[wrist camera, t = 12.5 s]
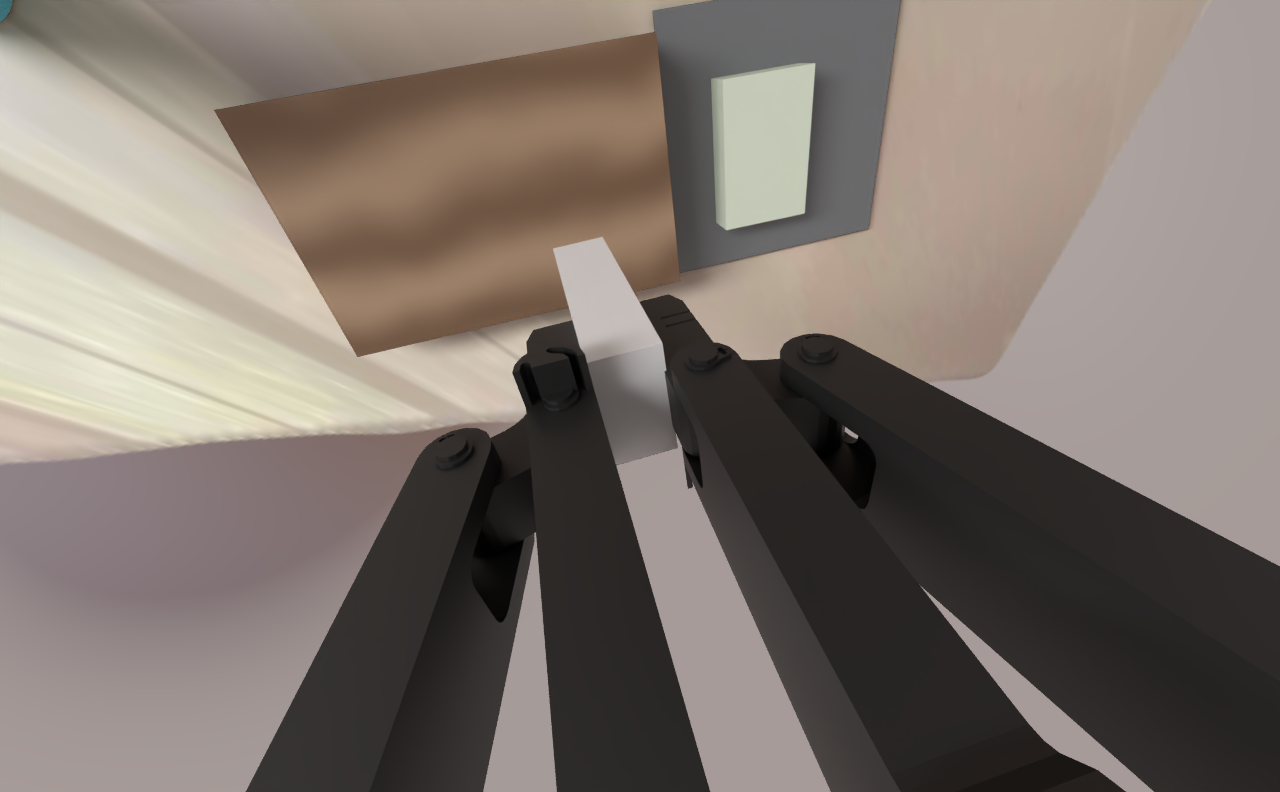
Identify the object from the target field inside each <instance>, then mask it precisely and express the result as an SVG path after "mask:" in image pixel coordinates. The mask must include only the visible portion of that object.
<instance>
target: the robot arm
mask: <svg viewBox="0 0 1280 792" xmlns="http://www.w3.org/2000/svg"><path fill="white" fill-rule="evenodd" d="M553 251H554V254H555V258H556V262H557V266H558V269H559V273H560V277H561V280H562V284H563V288H564V291H565V295H566V299H567V302H568V306H569V310H570V314H571V317H572V321H568V322H564V323H560V324H556V325H552V326H548V327H544V328H540V329H536V330H533V332H532V334H531V335H530V337H529V339H528V340H527V342H526V343H527V354H526V355H524V356H523V357H521V359H520V360H519V361H518V362H517V363H516V364H515V366H514V369H513V372H512V373H513V376H514V378H515V381H516V383H517V386H518V389H519V391H520V394H521V396H522V399H523V402H524V404H525V407H526V413H527V414H526V415H525V416H524V417H523V419H521V420H520V421H519V422H518V423H517V424H515V425H514V426H512V427H511V428H509V429H507V430H506V431H504V432H502V433H500V434H498V435H496V436H494V437H492V438H490V437H489V435H488V434H487V432H485V431H483V430H480V429H478V428H464V429H459V430H455V431H451V432H449V433H447V434H445V435H442V436H441V437H439V438H437V439H436V440H434V441H433V442H432V443H430V444H429V445H428V446H427V447H426V448H425V449H424V450H423V452H422V453H421V454H420V455H419V457H418V458H417V460H416V462H415V464H414V466H413V468H412V470H411V472H410V474H409V476H408V478H407V480H406V482H405V484H404V486H403V488H402V489H401V491H400V493H399V495H398V497H397V499H396V501H395V503H394V505H393V507H392V509H391V511H390V513H389V515H388V517H387V519H386V521H385V522H384V524H383V526H382V528H381V530H380V532H379V534H378V536H377V538H376V540H375V542H374V544H373V546H372V548H371V550H370V552H369V554H368V555H367V558H366V559H365V561H364V563H363V565H362V567H361V569H360V571H359V573H358V575H357V577H356V579H355V581H354V583H353V585H352V587H351V588H350V591H349V592H348V595H347V596H346V598H345V600H344V602H343V604H342V606H341V608H340V610H339V612H338V614H337V616H336V618H335V620H334V622H333V624H332V625H331V627H330V629H329V631H328V633H327V635H326V637H325V639H324V641H323V643H322V645H321V647H320V649H319V651H318V653H317V655H316V656H315V658H314V660H313V662H312V664H311V666H310V668H309V670H308V672H307V674H306V676H305V678H304V680H303V682H302V684H301V686H300V688H299V689H298V691H297V693H296V695H295V698H294V699H293V701H292V703H291V705H290V707H289V709H288V711H287V713H286V715H285V717H284V719H283V721H282V723H281V724H280V727H279V728H278V730H277V732H276V734H275V736H274V738H273V740H272V742H271V744H270V746H269V748H268V750H267V752H266V754H265V756H264V757H263V759H262V761H261V763H260V765H259V767H258V769H257V771H256V773H255V775H254V777H253V779H252V781H251V783H250V785H249V787H248V789H247V790H246V792H483V789H484V784H485V779H486V774H487V769H488V765H489V759H490V755H491V750H492V745H493V740H494V735H495V730H496V726H497V721H498V716H499V711H500V706H501V701H502V696H503V691H504V687H505V681H506V677H507V672H508V667H509V662H510V657H511V652H512V647H513V643H514V638H515V633H516V628H517V623H518V618H519V613H520V609H521V604H522V599H523V593H524V589H525V584H526V579H527V574H528V570H529V565H530V560H531V555H532V550H533V545H534V533H535V532H536V537H537V548H538V562H539V574H540V587H541V599H542V611H543V624H544V636H545V649H546V660H547V674H548V685H549V698H550V710H551V723H552V735H553V748H554V760H555V773H556V785H557V792H710V790H709V786H708V783H707V779H706V776H705V773H704V769H703V766H702V762H701V758H700V755H699V752H698V748H697V745H696V741H695V738H694V734H693V731H692V728H691V724H690V720H689V717H688V713H687V710H686V706H685V703H684V699H683V696H682V693H681V689H680V686H679V682H678V679H677V675H676V672H675V668H674V665H673V662H672V658H671V655H670V651H669V648H668V644H667V641H666V637H665V633H664V630H663V627H662V623H661V620H660V617H659V613H658V609H657V606H656V603H655V599H654V595H653V592H652V588H651V585H650V582H649V578H648V574H647V571H646V568H645V564H644V561H643V557H642V554H641V550H640V547H639V543H638V540H637V536H636V533H635V529H634V526H633V522H632V519H631V516H630V512H629V509H628V505H627V502H626V498H625V495H624V491H623V488H622V484H621V481H620V477H619V474H618V471H617V467H616V465H619V464H623V463H627V462H630V461H633V460H637V459H641V458H644V457H648V456H651V455H655V454H658V453H661V452H665V451H669V450H672V449H676V448H677V447H678V446H677V439H676V434H677V436H678V438H679V440H680V443H681V445H682V450H683V457H684V463H685V471H686V479H687V485H688V488H692V487H693V484H694V486H695V489H696V491H697V493H698V495H699V497H700V500H701V502H702V504H703V507H704V509H705V511H706V513H707V515H708V518H709V520H710V522H711V524H712V527H713V529H714V531H715V533H716V536H717V538H718V540H719V542H720V544H721V547H722V549H723V551H724V553H725V556H726V558H727V560H728V562H729V565H730V567H731V569H732V571H733V574H734V576H735V578H736V580H737V582H738V585H739V587H740V589H741V591H742V594H743V596H744V598H745V600H746V603H747V605H748V607H749V609H750V612H751V614H752V616H753V618H754V621H755V623H756V625H757V627H758V629H759V632H760V634H761V636H762V638H763V641H764V643H765V645H766V647H767V650H768V652H769V654H770V656H771V659H772V661H773V663H774V665H775V668H776V670H777V672H778V674H779V677H780V679H781V681H782V683H783V685H784V688H785V690H786V692H787V694H788V697H789V699H790V701H791V703H792V706H793V708H794V710H795V712H796V715H797V717H798V719H799V721H800V723H801V726H802V728H803V730H804V733H805V734H806V737H807V739H808V741H809V743H810V746H811V748H812V750H813V752H814V755H815V757H816V759H817V762H818V764H819V766H820V768H821V771H822V773H823V775H824V777H825V779H826V782H827V784H828V786H829V788H830V791H831V792H1126V791H1124V790H1123V789H1122V788H1120V787H1119V786H1118V785H1116V784H1115V783H1114V782H1113V781H1111V780H1110V779H1109V778H1107V777H1106V776H1105V775H1103V774H1102V773H1101V772H1099V771H1098V770H1096V769H1094V768H1092V767H1090V766H1087V765H1085V764H1083V763H1081V762H1079V761H1076V760H1074V759H1072V758H1070V757H1067V756H1065V755H1063V754H1061V753H1059V752H1058V751H1056V750H1055V749H1054V748H1053V747H1051V746H1050V745H1049V744H1047V743H1046V742H1045V741H1044V740H1043V739H1042V738H1041V737H1040V736H1039V735H1038V734H1037V733H1036V731H1034V730H1033V728H1032V727H1031V726H1030V725H1029V724H1028V722H1027V721H1026V720H1025V719H1024V717H1023V716H1022V715H1021V714H1020V713H1019V711H1018V710H1017V709H1016V707H1015V706H1014V705H1013V704H1012V702H1011V701H1010V700H1009V698H1008V697H1007V696H1006V694H1005V693H1004V692H1003V691H1002V689H1001V688H1000V687H999V686H998V685H997V683H996V682H995V681H994V679H993V678H992V677H991V675H990V674H989V673H988V672H987V670H986V669H985V668H984V667H983V666H982V664H981V663H980V661H979V660H978V659H977V658H976V657H975V655H974V654H973V653H972V651H971V650H970V649H969V647H968V646H967V645H966V644H965V642H964V641H963V640H962V639H961V637H960V636H959V635H958V633H957V632H956V631H955V630H954V628H953V627H952V626H951V625H950V623H949V622H948V621H947V620H946V618H945V617H944V616H943V615H942V613H941V612H940V611H939V610H938V608H937V607H936V606H935V604H934V603H933V602H932V601H931V599H930V598H929V597H928V595H927V594H926V593H925V592H924V590H923V589H922V588H921V587H923V588H924V589H925V590H926V591H927V592H929V594H931V595H932V596H933V597H934V598H935V599H936V600H937V601H939V602H940V603H941V604H942V605H943V606H944V607H945V608H946V609H948V610H949V611H950V612H951V613H952V614H953V615H954V616H956V617H957V618H958V619H959V620H960V621H961V622H962V623H963V624H965V625H966V626H967V627H968V628H969V629H970V630H972V631H973V632H974V633H975V634H976V635H977V636H978V637H979V638H981V639H982V640H983V641H984V642H985V643H986V644H987V645H988V646H990V647H991V648H992V649H993V650H994V651H995V652H996V653H998V654H999V655H1000V656H1001V657H1002V658H1003V659H1004V660H1005V661H1007V662H1008V663H1009V664H1010V665H1011V666H1012V667H1013V668H1015V669H1016V670H1017V671H1018V672H1019V673H1020V674H1021V675H1022V676H1024V677H1025V678H1026V679H1027V680H1028V681H1029V682H1030V683H1032V684H1033V685H1034V686H1035V687H1036V688H1037V689H1038V690H1040V691H1041V692H1042V693H1043V694H1044V695H1045V696H1046V697H1047V698H1049V699H1050V700H1051V701H1052V702H1053V703H1054V704H1055V705H1056V706H1058V707H1059V708H1060V709H1061V710H1062V711H1063V712H1065V713H1066V714H1067V715H1068V716H1069V717H1070V718H1071V719H1073V721H1075V722H1076V723H1077V724H1078V725H1079V726H1080V727H1082V728H1083V729H1084V730H1085V731H1086V732H1087V733H1088V734H1089V735H1091V736H1092V737H1093V738H1094V739H1095V740H1096V741H1097V742H1099V743H1100V744H1101V745H1102V746H1103V747H1104V748H1105V749H1106V750H1108V751H1109V752H1110V753H1111V754H1112V755H1113V756H1114V757H1116V758H1117V759H1118V760H1119V761H1120V762H1121V763H1122V764H1123V765H1125V766H1126V767H1127V768H1128V769H1129V770H1130V771H1131V772H1133V773H1134V774H1135V775H1136V776H1137V777H1138V778H1139V779H1141V780H1142V781H1143V782H1144V783H1145V784H1146V785H1147V786H1148V787H1149V788H1151V789H1152V790H1153V791H1154V792H1280V566H1278V565H1276V564H1274V563H1272V562H1270V561H1268V560H1266V559H1264V558H1263V557H1260V556H1259V555H1257V554H1255V553H1253V552H1251V551H1249V550H1247V549H1245V548H1243V547H1241V546H1239V545H1238V544H1236V543H1234V542H1232V541H1230V540H1228V539H1226V538H1224V537H1222V536H1220V535H1218V534H1216V533H1214V532H1212V531H1211V530H1208V529H1207V528H1205V527H1203V526H1201V525H1199V524H1197V523H1195V522H1193V521H1191V520H1190V519H1188V518H1186V517H1184V516H1182V515H1180V514H1178V513H1176V512H1174V511H1172V510H1170V509H1168V508H1166V507H1164V506H1163V505H1161V504H1159V503H1157V502H1155V501H1153V500H1151V499H1149V498H1147V497H1145V496H1143V495H1141V494H1140V493H1138V492H1136V491H1134V490H1132V489H1130V488H1128V487H1126V486H1124V485H1122V484H1120V483H1118V482H1116V481H1115V480H1112V479H1111V478H1109V477H1107V476H1105V475H1103V474H1101V473H1099V472H1097V471H1095V470H1093V469H1091V468H1090V467H1088V466H1086V465H1084V464H1082V463H1080V462H1078V461H1076V460H1074V459H1072V458H1070V457H1068V456H1066V455H1065V454H1063V453H1061V452H1059V451H1057V450H1055V449H1053V448H1051V447H1049V446H1047V445H1045V444H1043V443H1042V442H1039V441H1038V440H1036V439H1034V438H1032V437H1030V436H1028V435H1026V434H1024V433H1022V432H1020V431H1018V430H1017V429H1014V428H1013V427H1011V426H1009V425H1007V424H1005V423H1003V422H1001V421H999V420H997V419H995V418H993V417H992V416H990V415H987V414H986V413H984V412H982V411H980V410H978V409H976V408H974V407H972V406H970V405H968V404H966V403H965V402H963V401H961V400H959V399H957V398H955V397H953V396H951V395H949V394H947V393H945V392H944V391H941V390H940V389H938V388H936V387H934V386H932V385H930V384H928V383H926V382H924V381H922V380H920V379H919V378H917V377H915V376H913V375H911V374H909V373H907V372H905V371H903V370H901V369H899V368H897V367H895V366H894V365H892V364H890V363H888V362H886V361H884V360H882V359H880V358H878V357H876V356H874V355H872V354H870V353H869V352H867V351H865V350H863V349H861V348H859V347H857V346H855V345H853V344H851V343H849V342H847V341H845V340H843V339H841V338H838V337H835V336H832V335H825V334H806V335H802V336H798V337H795V338H792V339H791V340H789V341H788V342H786V343H785V344H784V345H783V347H782V349H781V350H780V359H772V360H742V359H741V358H740V356H739V355H738V354H737V353H736V352H735V351H734V350H733V349H732V348H730V347H729V346H726V345H723V344H720V343H713V341H712V340H711V339H710V337H709V336H708V335H707V333H706V332H705V330H704V329H703V328H702V326H701V325H700V324H699V322H698V321H697V320H696V319H695V317H694V316H693V314H692V313H691V312H690V310H689V309H688V308H687V306H686V305H685V303H684V302H683V301H682V300H680V299H677V298H675V297H673V296H671V295H669V294H668V295H665V296H661V297H657V298H653V299H649V300H645V301H641V302H639V301H638V299H637V297H636V295H635V294H634V292H633V290H632V288H631V286H630V285H629V283H628V281H627V279H626V278H625V276H624V274H623V272H622V270H621V269H620V267H619V265H618V263H617V262H616V260H615V258H614V256H613V254H612V253H611V251H610V249H609V247H608V246H607V244H606V242H605V240H604V239H603V237H600V238H595V239H591V240H587V241H583V242H579V243H574V244H570V245H566V246H562V247H557V248H553ZM845 427H847V428H848V429H849V430H851V431H852V432H854V433H855V434H857V435H858V439H856V438H853V437H851V436H850V435H848V434H847V433H846V432H844V431H845ZM692 482H693V484H692Z"/></svg>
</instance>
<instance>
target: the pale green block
mask: <svg viewBox="0 0 1280 792" xmlns="http://www.w3.org/2000/svg"><path fill="white" fill-rule="evenodd" d="M814 77H815V63H797V64H791V65H786V66H780V67H774V68H769V69H763V70H757V71H752V72H746V73H740V74H735V75H729V76H723V77H718V78H712V79H711V91H712V119H713V147H714V175H715V203H716V223H717V224H719V225H720V226H721V227H723V228H724V229H725V230H730V229H735V228H739V227H744V226H749V225H753V224H758V223H763V222H767V221H772V220H777V219H781V218H786V217H791V216H795V215H800V214H804V213H805V203H806V189H807V175H808V161H809V147H810V133H811V119H812V105H813V91H814Z"/></svg>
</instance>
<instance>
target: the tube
mask: <svg viewBox="0 0 1280 792" xmlns="http://www.w3.org/2000/svg"><path fill="white" fill-rule="evenodd" d="M12 1H13V0H0V22H2V21H3V20H4V19H5V18H6V17H7V15H8V13H9V11H10V9H11V7H12Z"/></svg>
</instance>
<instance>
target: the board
mask: <svg viewBox="0 0 1280 792" xmlns="http://www.w3.org/2000/svg"><path fill="white" fill-rule="evenodd" d="M214 111H215V113H216V114H217V116H218V118H219V119H220V121H221V123H222V125H223V126H224V128H225V130H226V131H227V133H228V135H229V137H230V138H231V140H232V142H233V143H234V145H235V147H236V149H237V150H238V152H239V154H240V156H241V157H242V159H243V161H244V162H245V164H246V166H247V168H248V169H249V171H250V173H251V174H252V176H253V178H254V180H255V181H256V183H257V185H258V186H259V188H260V190H261V192H262V193H263V195H264V197H265V198H266V200H267V202H268V204H269V205H270V207H271V209H272V211H273V212H274V214H275V216H276V217H277V219H278V221H279V223H280V224H281V226H282V228H283V229H284V231H285V233H286V235H287V236H288V238H289V240H290V241H291V243H292V245H293V247H294V248H295V250H296V252H297V253H298V255H299V257H300V259H301V260H302V262H303V264H304V266H305V267H306V269H307V271H308V272H309V274H310V276H311V278H312V279H313V281H314V283H315V284H316V286H317V288H318V290H319V291H320V293H321V295H322V296H323V298H324V300H325V302H326V303H327V305H328V307H329V309H330V310H331V312H332V314H333V315H334V317H335V319H336V321H337V322H338V324H339V326H340V327H341V329H342V331H343V333H344V334H345V336H346V338H347V339H348V341H349V343H350V345H351V346H352V348H353V350H354V351H355V353H356V355H357V357H360V356H364V355H368V354H372V353H377V352H381V351H385V350H389V349H394V348H398V347H402V346H406V345H411V344H415V343H419V342H423V341H427V340H432V339H436V338H440V337H444V336H449V335H453V334H457V333H461V332H466V331H470V330H474V329H478V328H482V327H487V326H491V325H495V324H499V323H504V322H508V321H512V320H516V319H521V318H525V317H529V316H533V315H537V314H542V313H546V312H550V311H554V310H559V309H563V308H567V307H569V306H568V302H567V299H566V295H565V291H564V288H563V284H562V280H561V277H560V273H559V269H558V266H557V262H556V258H555V254H554V251H553V248H557V247H562V246H566V245H570V244H574V243H579V242H583V241H587V240H591V239H595V238H600V237H603V239H604V240H605V242H606V244H607V246H608V247H609V249H610V251H611V253H612V254H613V256H614V258H615V260H616V262H617V263H618V265H619V267H620V269H621V270H622V272H623V274H624V276H625V278H626V279H627V281H628V283H629V285H630V286H631V288H632V290H633V292H635V291H639V290H643V289H647V288H652V287H656V286H660V285H664V284H669V283H673V282H677V281H680V272H679V262H678V251H677V241H676V231H675V220H674V210H673V200H672V190H671V179H670V169H669V159H668V148H667V138H666V128H665V117H664V107H663V97H662V86H661V76H660V66H659V55H658V45H657V35H656V32H653V33H647V34H642V35H636V36H630V37H625V38H619V39H613V40H608V41H602V42H596V43H591V44H585V45H579V46H574V47H568V48H562V49H557V50H551V51H545V52H540V53H534V54H529V55H523V56H517V57H512V58H506V59H500V60H495V61H489V62H483V63H478V64H472V65H466V66H461V67H455V68H449V69H444V70H438V71H432V72H427V73H421V74H415V75H410V76H404V77H398V78H393V79H387V80H381V81H376V82H370V83H364V84H359V85H353V86H347V87H342V88H336V89H331V90H325V91H319V92H314V93H308V94H302V95H297V96H291V97H285V98H280V99H274V100H268V101H263V102H257V103H251V104H246V105H240V106H234V107H229V108H223V109H217V110H214Z"/></svg>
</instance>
